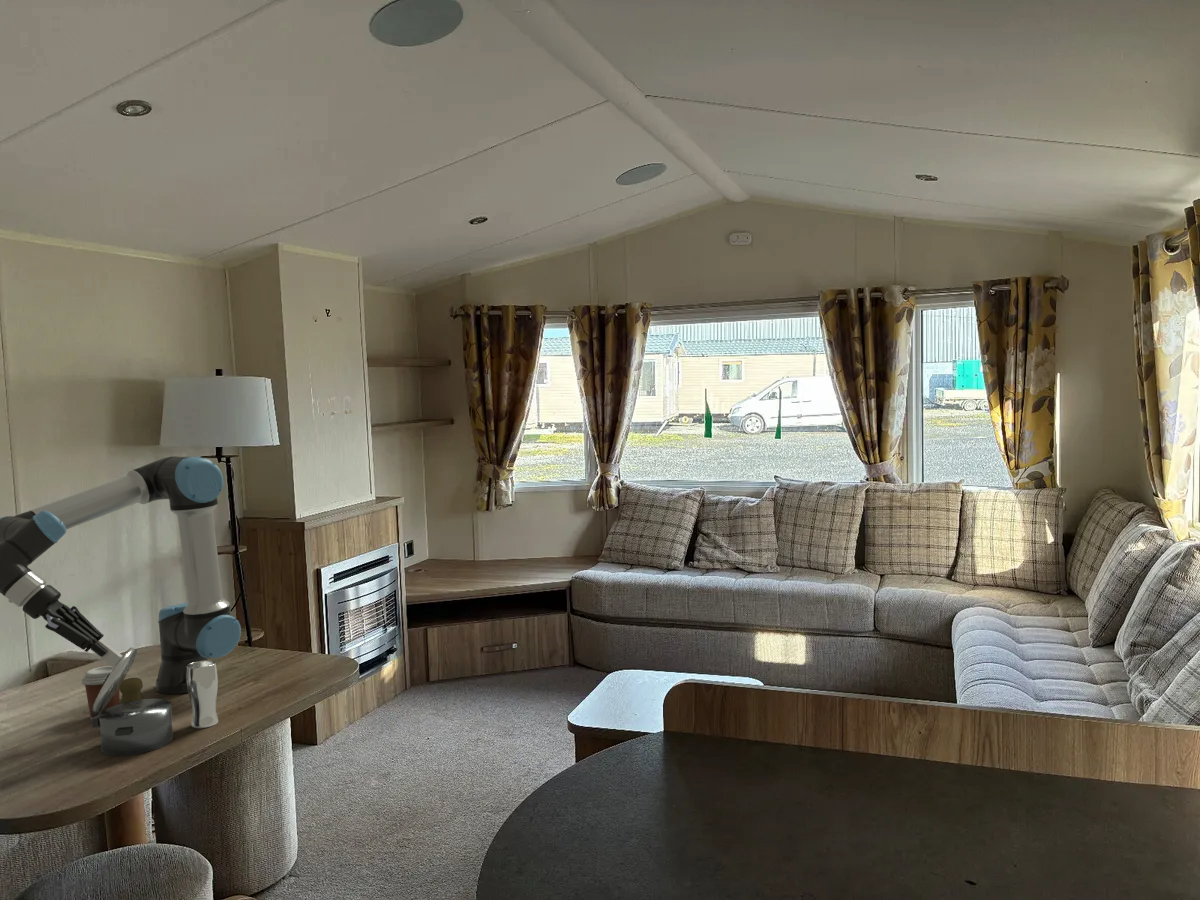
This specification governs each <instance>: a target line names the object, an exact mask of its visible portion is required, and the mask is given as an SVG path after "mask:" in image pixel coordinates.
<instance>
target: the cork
mask: <svg viewBox="0 0 1200 900" xmlns="http://www.w3.org/2000/svg"><path fill="white" fill-rule="evenodd" d="M119 689H120V693H121V703H125V702H129V701H134V700H141V699H143V695H142V689H143V681H142V679H141V678H139V677H129V678H124V680H123V682H122V683H121V685H120V686H119ZM121 703H120V704H121Z"/></svg>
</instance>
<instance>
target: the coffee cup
mask: <svg viewBox="0 0 1200 900" xmlns="http://www.w3.org/2000/svg"><path fill="white" fill-rule="evenodd" d="M115 666H116V665H115ZM115 666H114V667H115ZM114 667H112V666H111V665H103V666H99V667H94V668H91V669H89V670H87V671H86V672H85V675H84V677H82V679H81V683H82V685H84V687H85V694H86V698H87V704H88V710H89V712H88V713H89V719H90V720H91V721H92V719H93V718H94V717H95V716H93V715H92V713H93V711H92V709H93V705H94V703H95V700H96V698H97V696H98V694H99V692H100V690H101V688H102V687H103V683H104V681H105V679H106V677H107V676H108V675H109V674H110V673H111V672H112V670H113V669H114ZM120 693H121V692H120V689H119V688H118V690H117V691H116V693H115V694H114V696H113V697H112V698H111V700H110V701H109V703H108V704H107V705H106V706H105V708H104V709H103V710H102V711H104V710H105V709H107V708H109V707H112V706H115V705H118V704H120Z"/></svg>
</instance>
